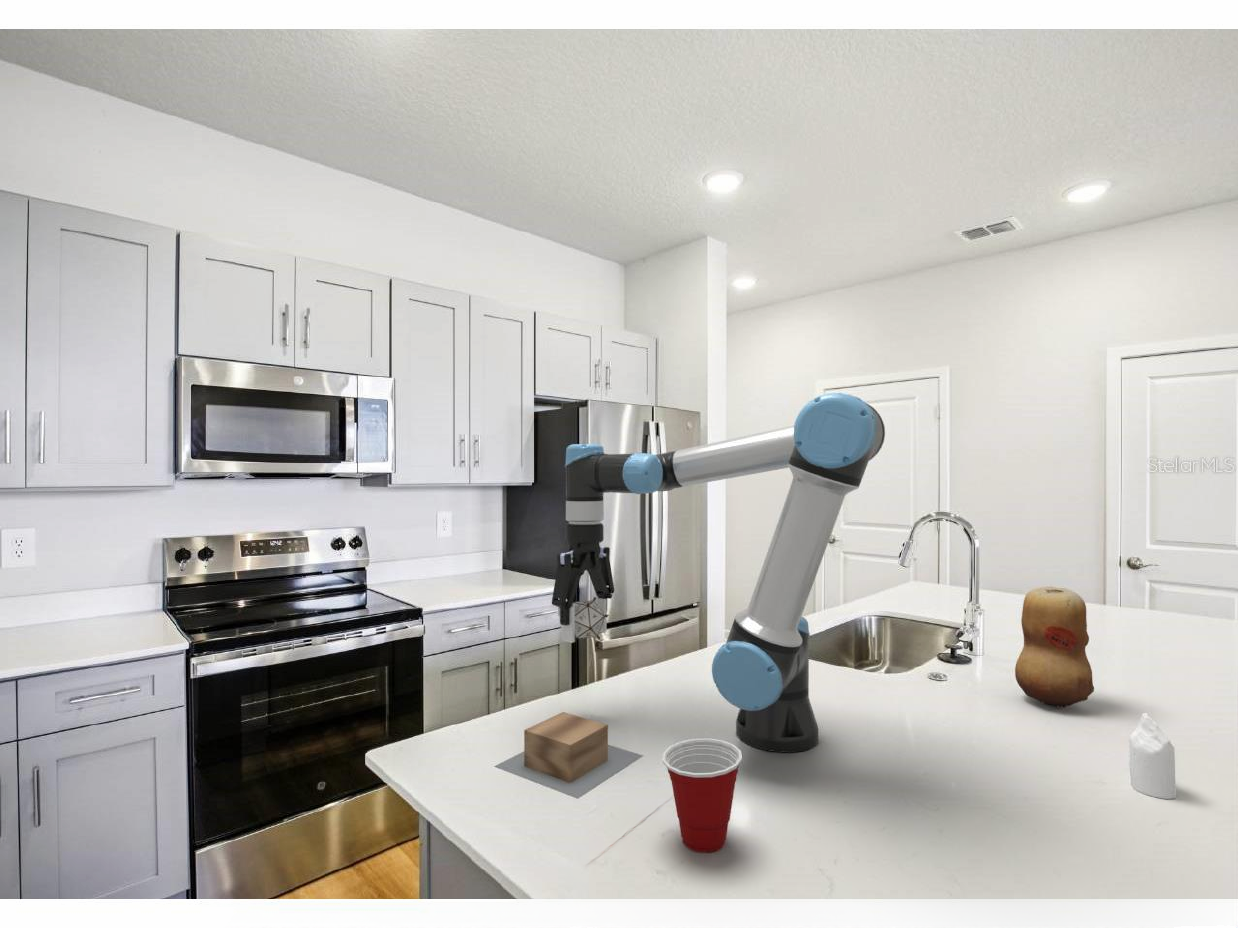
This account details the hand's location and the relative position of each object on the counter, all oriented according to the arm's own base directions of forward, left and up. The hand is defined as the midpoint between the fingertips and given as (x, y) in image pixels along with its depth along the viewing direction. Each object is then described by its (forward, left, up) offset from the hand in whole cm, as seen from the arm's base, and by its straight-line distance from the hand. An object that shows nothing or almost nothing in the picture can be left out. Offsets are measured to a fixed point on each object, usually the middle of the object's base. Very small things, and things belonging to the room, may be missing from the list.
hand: (584, 635), depth 128 cm
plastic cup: (-38, +22, -18) cm, 47 cm away
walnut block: (-9, +16, -17) cm, 25 cm away
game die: (0, 0, -1) cm, 1 cm away
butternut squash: (-75, -67, -18) cm, 102 cm away
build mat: (-9, +15, -17) cm, 25 cm away
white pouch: (-89, -32, -18) cm, 96 cm away
